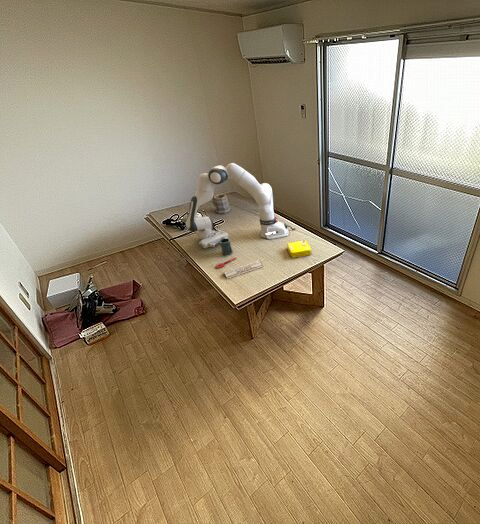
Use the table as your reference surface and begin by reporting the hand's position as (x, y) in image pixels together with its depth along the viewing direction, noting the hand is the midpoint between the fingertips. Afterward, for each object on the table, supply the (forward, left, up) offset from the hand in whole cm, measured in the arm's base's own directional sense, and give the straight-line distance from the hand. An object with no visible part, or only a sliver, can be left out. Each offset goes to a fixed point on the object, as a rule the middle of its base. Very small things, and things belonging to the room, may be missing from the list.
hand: (220, 243), depth 203 cm
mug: (-5, +6, -5) cm, 10 cm away
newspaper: (-17, +29, -6) cm, 34 cm away
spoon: (-5, +19, -5) cm, 20 cm away
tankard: (+11, -75, -6) cm, 76 cm away
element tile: (-55, +13, -6) cm, 57 cm away
